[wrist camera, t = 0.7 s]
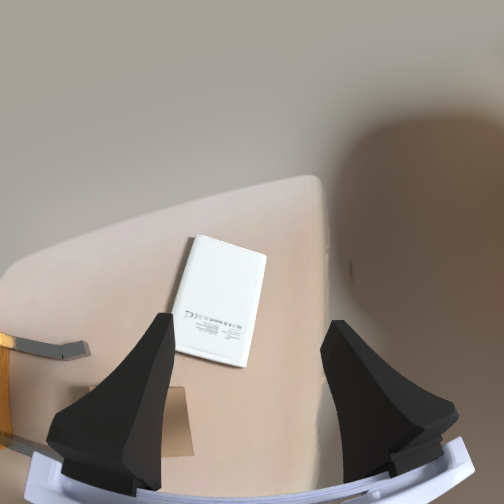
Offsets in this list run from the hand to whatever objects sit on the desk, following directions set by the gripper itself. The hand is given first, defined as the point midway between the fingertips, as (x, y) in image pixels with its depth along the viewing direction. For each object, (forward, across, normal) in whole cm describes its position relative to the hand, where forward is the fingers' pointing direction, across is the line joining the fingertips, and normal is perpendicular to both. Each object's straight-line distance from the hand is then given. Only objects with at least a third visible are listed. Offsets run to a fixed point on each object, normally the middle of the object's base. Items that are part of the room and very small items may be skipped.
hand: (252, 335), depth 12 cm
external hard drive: (+14, +2, +10) cm, 17 cm away
